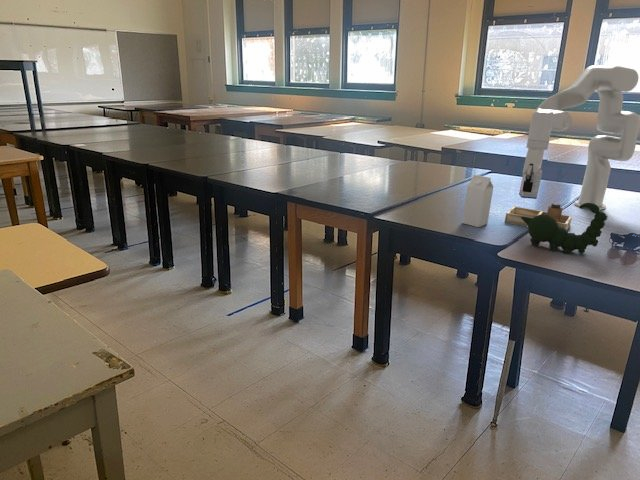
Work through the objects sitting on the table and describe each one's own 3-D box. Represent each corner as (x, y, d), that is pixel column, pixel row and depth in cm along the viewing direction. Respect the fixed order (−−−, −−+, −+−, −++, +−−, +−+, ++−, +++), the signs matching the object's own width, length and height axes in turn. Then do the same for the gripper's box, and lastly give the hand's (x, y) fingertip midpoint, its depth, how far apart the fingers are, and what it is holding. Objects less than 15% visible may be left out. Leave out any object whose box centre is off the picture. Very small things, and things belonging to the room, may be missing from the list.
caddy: (512, 214, 202) (516, 194, 198) (570, 225, 190) (574, 203, 187) (504, 222, 191) (508, 200, 188) (564, 233, 180) (569, 210, 177)
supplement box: (537, 199, 187) (543, 170, 183) (521, 197, 188) (526, 168, 184) (534, 195, 192) (539, 167, 188) (518, 194, 193) (523, 166, 189)
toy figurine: (593, 257, 163) (517, 235, 175) (612, 204, 156) (532, 185, 168) (589, 265, 156) (511, 242, 168) (609, 211, 148) (526, 190, 160)
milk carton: (471, 219, 193) (477, 173, 187) (487, 224, 189) (495, 176, 182) (461, 223, 188) (468, 175, 182) (478, 227, 184) (486, 179, 177)
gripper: (531, 141, 192) (523, 184, 198) (522, 146, 178) (513, 192, 184) (552, 143, 188) (543, 187, 194) (543, 148, 174) (534, 195, 180)
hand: (529, 189), depth 189 cm, fingers closed on supplement box, 7 cm apart
